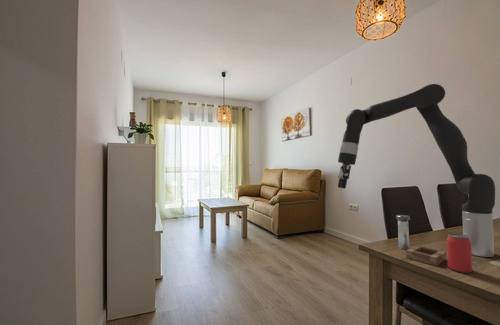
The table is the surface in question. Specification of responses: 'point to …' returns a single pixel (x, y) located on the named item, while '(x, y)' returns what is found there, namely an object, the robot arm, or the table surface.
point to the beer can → (459, 253)
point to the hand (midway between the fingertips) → (341, 187)
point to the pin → (403, 231)
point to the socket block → (426, 255)
